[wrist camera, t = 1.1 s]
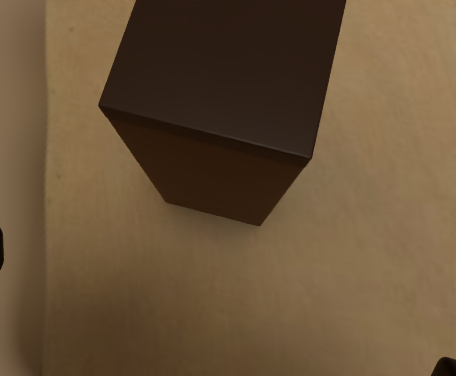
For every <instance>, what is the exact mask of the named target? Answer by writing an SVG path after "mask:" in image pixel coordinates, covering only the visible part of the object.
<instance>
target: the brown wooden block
mask: <svg viewBox="0 0 456 376" xmlns="http://www.w3.org/2000/svg"><path fill="white" fill-rule="evenodd" d="M345 4H346V0H136V2H135V5H134V7H133V10H132V13H131V16H130V18H129V21H128V24H127V27H126V29H125V32H124V35H123V38H122V40H121V43H120V46H119V49H118V51H117V54H116V57H115V60H114V63H113V65H112V68H111V71H110V74H109V76H108V79H107V82H106V85H105V87H104V90H103V93H102V96H101V98H100V101H99V104H98V106H99V108H100V109H101V111H102V112H103V113H104V115H105V116H106V117H107V118H108V120H109V121H110V123H111V124H112V126H113V127H114V128H115V130H116V131H117V133H118V134H119V136H120V137H121V139H122V140H123V141H124V143H125V144H126V146H127V147H128V149H129V150H130V152H131V153H132V154H133V156H134V157H135V159H136V160H137V162H138V163H139V164H140V166H141V167H142V169H143V170H144V172H145V173H146V175H147V176H148V177H149V179H150V180H151V182H152V183H153V185H154V186H155V188H156V189H157V190H158V192H159V193H160V195H161V196H162V198H163V199H164V201H165V202H167V203H171V204H175V205H179V206H183V207H187V208H190V209H194V210H198V211H202V212H206V213H210V214H214V215H217V216H221V217H225V218H229V219H233V220H237V221H241V222H244V223H248V224H252V225H256V226H261V224H262V223H263V222H264V220H265V219H266V218H267V216H268V215H269V214H270V212H271V211H272V210H273V208H274V207H275V206H276V204H277V203H278V202H279V200H280V199H281V198H282V196H283V195H284V194H285V192H286V191H287V190H288V188H289V187H290V186H291V184H292V183H293V182H294V180H295V179H296V178H297V176H298V175H299V174H300V172H301V171H302V170H303V168H304V167H306V165H307V164H308V163H309V161H310V160H311V159H312V155H313V151H314V146H315V142H316V137H317V132H318V128H319V123H320V119H321V114H322V110H323V105H324V100H325V96H326V91H327V87H328V82H329V78H330V73H331V68H332V64H333V59H334V55H335V50H336V46H337V41H338V36H339V32H340V27H341V23H342V18H343V14H344V9H345Z"/></svg>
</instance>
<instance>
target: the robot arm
mask: <svg viewBox="0 0 456 376" xmlns="http://www.w3.org/2000/svg"><path fill="white" fill-rule="evenodd" d="M3 262H4V248H3V232H2V230H1V228H0V270H1V268H2V265H3ZM431 376H456V360H455V359H452V358H448V357H443V358H441V359H440V360H439V361H438V362H437V364H436V366H435V368H434V370H433V372H432V374H431Z"/></svg>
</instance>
